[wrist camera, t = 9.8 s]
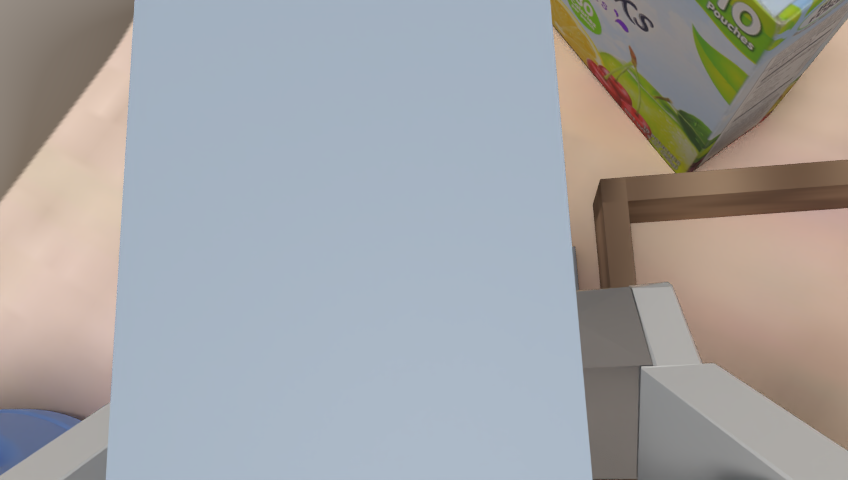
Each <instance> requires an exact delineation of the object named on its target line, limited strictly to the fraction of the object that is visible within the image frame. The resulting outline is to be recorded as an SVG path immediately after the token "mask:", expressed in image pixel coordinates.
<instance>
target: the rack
mask: <svg viewBox="0 0 848 480" xmlns="http://www.w3.org/2000/svg"><path fill="white" fill-rule="evenodd" d="M837 208H848V160H837V161H824V162H812V163H799V164H787V165H774V166H762V167H749V168H737V169H724V170H711V171H699V172H686V173H674V174H661V175H649V176H636V177H623V178H611V179H600V182H599V185H598V189H597V192H596V196H595V199H594V203H593V210H594V221H595V232H596V243H597V253H598V264H599V275H600V286H601V289H605V288H619V287H629V286H631V285H636V276H635V266H634V256H633V247H632V237H631V227H630V223H640V222H654V221H668V220H682V219H697V218H711V217H725V216H739V215H753V214H767V213H781V212H795V211H809V210H823V209H837ZM618 480H638V479H618Z"/></svg>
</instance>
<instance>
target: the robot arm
mask: <svg viewBox="0 0 848 480" xmlns="http://www.w3.org/2000/svg"><path fill="white" fill-rule="evenodd" d="M576 298H577V309H578V321H579V332H580V343H581V355H582V366H583V377H584V388H585V400H586V411H587V422H588V434H589V445H590V456H591V468H592V479H638V480H848V451H847V450H846V449H844V448H843V447H841V446H840V445H838V444H836V443H835V442H833V441H832V440H830V439H829V438H827V437H826V436H824V435H823V434H821V433H820V432H818V431H817V430H815V429H814V428H812V427H811V426H809V425H808V424H806V423H805V422H803V421H802V420H800V419H799V418H797V417H795V416H794V415H792V414H791V413H789V412H788V411H786V410H785V409H783V408H782V407H780V406H779V405H777V404H776V403H774V402H773V401H771V400H770V399H768V398H767V397H765V396H764V395H762V394H761V393H759V392H758V391H756V390H754V389H753V388H751V387H750V386H748V385H747V384H745V383H744V382H742V381H741V380H739V379H738V378H736V377H735V376H733V375H732V374H730V373H729V372H727V371H726V370H724V369H723V368H721V367H720V366H718V365H716V364H715V363H709V364H702V361H701V359H700V356H699V353H698V351H697V348H696V345H695V343H694V340H693V338H692V335H691V332H690V330H689V327H688V325H687V322H686V319H685V317H684V314H683V311H682V309H681V306H680V304H679V301H678V298H677V296H676V293H675V290H674V288H673V286H672V285H671V284H670V283H668V282H663V283H652V284H641V285H631V286H629V287H619V288H605V289H591V290H577V291H576ZM109 417H110V403H108V404H107V405H105V406H104V407H102V408H101V409H99V410H98V411H96V412H95V413H93V414H92V415H90V416H89V417H87V418H86V419H84V420H83V421H81V422H80V423H78V424H77V425H75V426H74V427H72V428H71V429H69V430H68V431H66V432H65V433H63V434H62V435H60V436H59V437H57V438H56V439H54V440H53V441H51V442H50V443H48V444H47V445H45V446H44V447H42V448H41V449H39V450H38V451H36V452H35V453H33V454H32V455H30V456H29V457H27V458H26V459H24V460H23V461H21V462H20V463H18V464H17V465H15V466H14V467H12V468H11V469H9V470H8V471H6V472H5V473H3V474H2V475H0V480H106V467H107V450H108V434H109Z"/></svg>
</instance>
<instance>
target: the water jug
mask: <svg viewBox="0 0 848 480" xmlns="http://www.w3.org/2000/svg"><path fill="white" fill-rule="evenodd" d="M80 422H81V420H79V419H76V418H74V417H71V416H68V415H65V414H61V413H57V412H52V411H47V410H38V409H0V475H2V474H3V473H5V472H6V471H8V470H9V469H11V468H12V467H14V466H15V465H17V464H18V463H20V462H21V461H23V460H24V459H26V458H27V457H29V456H30V455H32V454H33V453H35V452H36V451H38V450H39V449H41V448H42V447H44V446H45V445H47V444H48V443H50V442H51V441H53V440H54V439H56V438H57V437H59V436H60V435H62V434H63V433H65V432H66V431H68V430H69V429H71V428H72V427H74V426H75V425H77V424H78V423H80Z"/></svg>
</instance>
